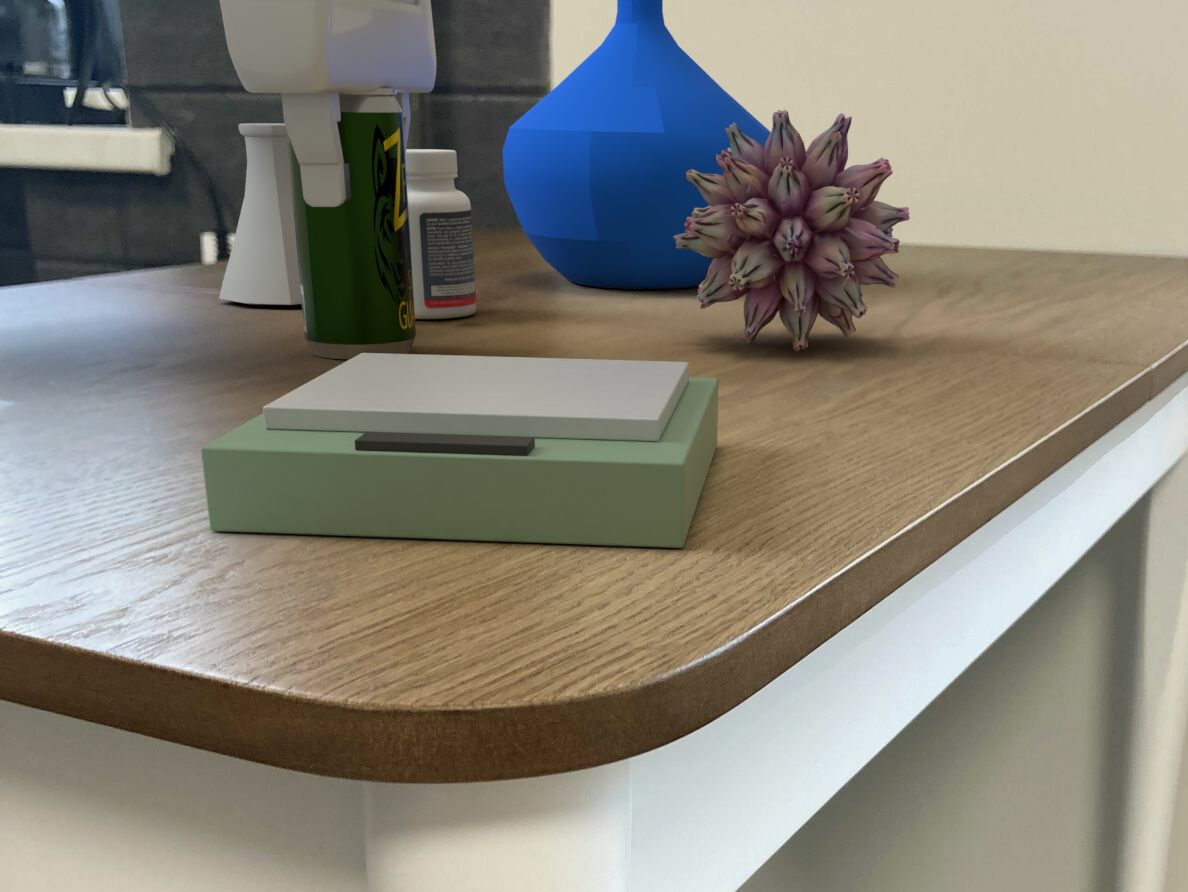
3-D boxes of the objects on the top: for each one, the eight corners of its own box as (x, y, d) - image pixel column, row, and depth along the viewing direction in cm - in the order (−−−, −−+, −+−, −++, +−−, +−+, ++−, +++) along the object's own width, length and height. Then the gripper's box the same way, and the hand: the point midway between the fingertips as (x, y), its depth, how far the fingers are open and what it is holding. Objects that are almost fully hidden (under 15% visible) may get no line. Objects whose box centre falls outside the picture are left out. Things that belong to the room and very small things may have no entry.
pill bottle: (488, 310, 90) (481, 149, 86) (459, 322, 85) (451, 152, 81) (403, 307, 90) (393, 147, 87) (370, 318, 86) (358, 150, 82)
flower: (923, 374, 80) (822, 354, 70) (732, 343, 86) (613, 320, 76) (968, 145, 78) (869, 91, 67) (767, 128, 83) (649, 75, 73)
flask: (197, 303, 90) (176, 123, 86) (277, 291, 96) (261, 121, 92) (293, 312, 88) (276, 126, 84) (370, 299, 94) (357, 124, 90)
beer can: (308, 362, 72) (284, 86, 67) (304, 345, 77) (281, 86, 72) (422, 358, 73) (406, 88, 68) (411, 342, 78) (395, 88, 73)
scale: (209, 531, 44) (196, 422, 43) (348, 433, 57) (342, 347, 56) (683, 549, 43) (684, 437, 42) (717, 445, 56) (719, 358, 55)
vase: (453, 277, 105) (439, -33, 97) (654, 262, 116) (655, -16, 109) (622, 305, 93) (620, -47, 85) (827, 285, 104) (842, -27, 96)
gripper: (333, -106, 76) (358, 186, 82) (168, -170, 58) (215, 214, 63) (456, -107, 76) (472, 187, 81) (330, -173, 57) (363, 215, 63)
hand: (359, 199), depth 72 cm, fingers open, 8 cm apart
